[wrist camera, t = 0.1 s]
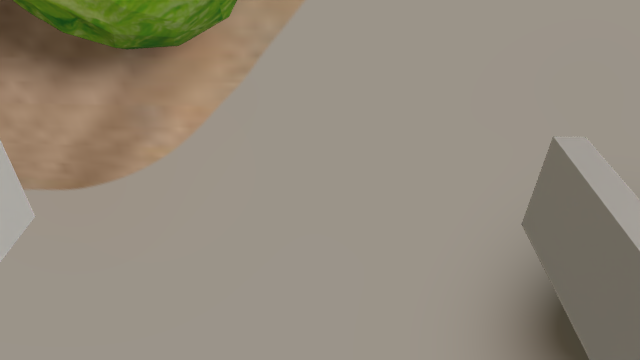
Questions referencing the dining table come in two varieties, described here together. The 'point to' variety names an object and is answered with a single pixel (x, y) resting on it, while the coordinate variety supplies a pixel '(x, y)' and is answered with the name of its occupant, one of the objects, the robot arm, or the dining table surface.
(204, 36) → the dining table surface
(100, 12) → the lettuce
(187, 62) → the dining table surface
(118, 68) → the dining table surface
